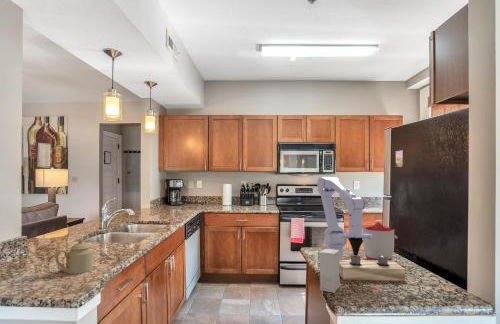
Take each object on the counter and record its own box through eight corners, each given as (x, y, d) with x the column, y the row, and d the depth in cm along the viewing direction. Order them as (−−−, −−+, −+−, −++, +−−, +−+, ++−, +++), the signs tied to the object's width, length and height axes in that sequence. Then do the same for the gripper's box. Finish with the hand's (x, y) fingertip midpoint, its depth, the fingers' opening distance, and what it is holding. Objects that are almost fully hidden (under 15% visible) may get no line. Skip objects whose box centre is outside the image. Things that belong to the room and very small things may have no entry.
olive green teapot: (75, 278, 135) (75, 242, 136) (53, 276, 137) (53, 241, 138) (98, 267, 150) (98, 235, 150) (78, 266, 152) (78, 234, 152)
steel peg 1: (349, 265, 143) (349, 254, 143) (358, 265, 143) (358, 254, 143) (352, 267, 139) (352, 257, 139) (361, 267, 139) (361, 257, 139)
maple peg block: (336, 270, 147) (336, 259, 147) (392, 271, 146) (392, 260, 146) (343, 279, 135) (343, 268, 135) (405, 280, 134) (404, 268, 134)
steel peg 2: (376, 265, 142) (376, 255, 142) (385, 265, 142) (385, 255, 142) (379, 268, 138) (379, 257, 138) (389, 268, 138) (389, 257, 138)
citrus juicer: (404, 265, 156) (403, 224, 157) (368, 264, 156) (368, 224, 157) (390, 256, 172) (390, 219, 172) (358, 256, 172) (358, 219, 172)
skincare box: (334, 293, 120) (334, 254, 120) (319, 290, 123) (319, 252, 123) (340, 286, 127) (340, 249, 127) (325, 283, 130) (325, 247, 130)
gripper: (341, 225, 137) (341, 257, 137) (375, 226, 137) (375, 257, 137) (337, 223, 144) (337, 252, 144) (369, 223, 144) (369, 253, 144)
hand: (355, 254), depth 141 cm, fingers closed
